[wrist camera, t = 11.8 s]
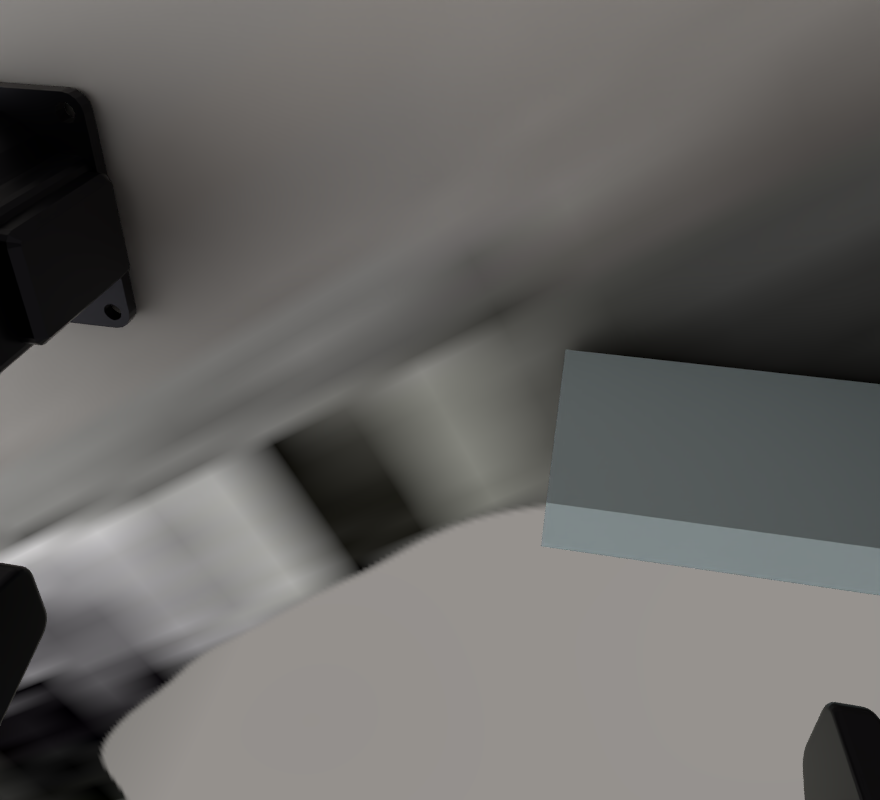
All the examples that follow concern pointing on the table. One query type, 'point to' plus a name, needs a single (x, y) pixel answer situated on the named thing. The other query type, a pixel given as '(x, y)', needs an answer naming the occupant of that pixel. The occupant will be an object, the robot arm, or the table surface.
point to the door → (718, 470)
